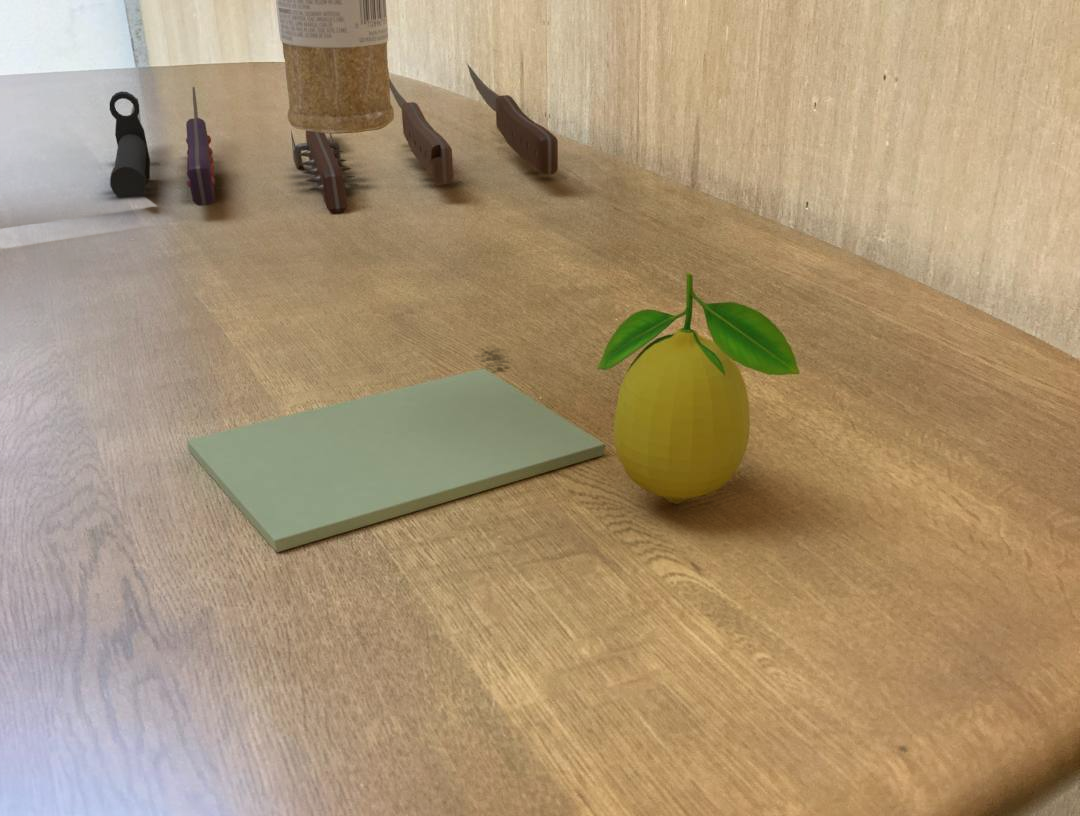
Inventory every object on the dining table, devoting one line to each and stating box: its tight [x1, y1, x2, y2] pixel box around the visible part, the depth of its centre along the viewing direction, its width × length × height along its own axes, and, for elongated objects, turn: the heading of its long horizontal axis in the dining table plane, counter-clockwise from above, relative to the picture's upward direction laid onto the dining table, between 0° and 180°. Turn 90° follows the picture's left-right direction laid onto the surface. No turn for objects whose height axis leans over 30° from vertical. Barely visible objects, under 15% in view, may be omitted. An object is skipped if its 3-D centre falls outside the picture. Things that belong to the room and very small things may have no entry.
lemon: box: [597, 273, 800, 505], centre depth 46 cm, size 7×6×10 cm
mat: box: [186, 368, 606, 553], centre depth 53 cm, size 16×11×1 cm
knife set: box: [109, 63, 559, 214], centre depth 101 cm, size 35×33×8 cm
